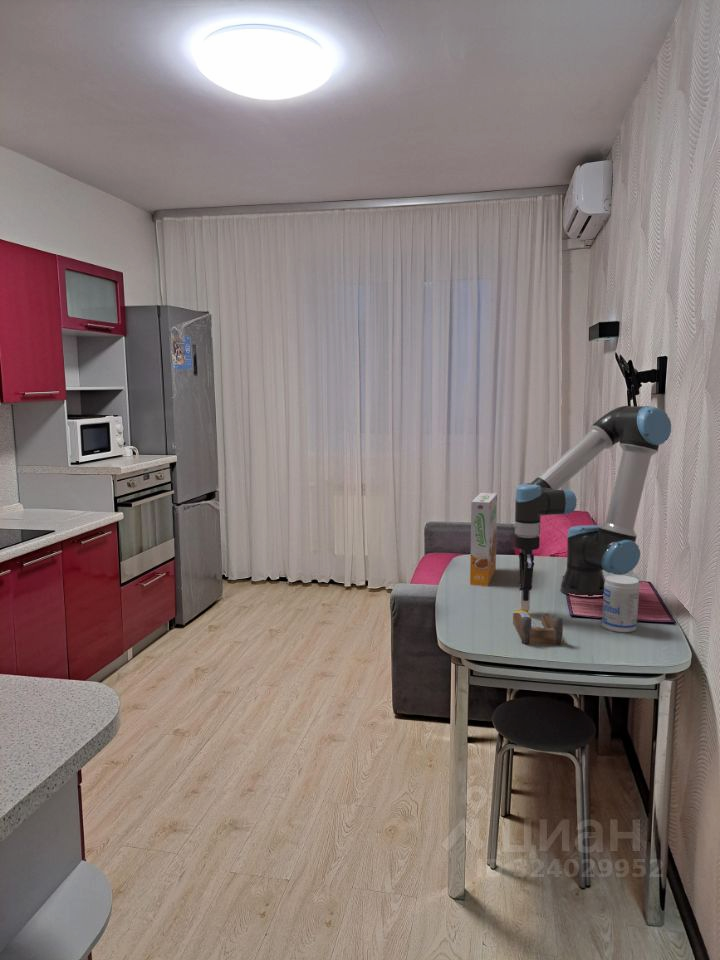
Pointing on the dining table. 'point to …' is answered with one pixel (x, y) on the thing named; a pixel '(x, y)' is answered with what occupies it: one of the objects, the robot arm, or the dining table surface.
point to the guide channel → (539, 630)
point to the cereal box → (483, 538)
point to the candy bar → (525, 614)
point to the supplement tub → (620, 603)
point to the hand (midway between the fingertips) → (524, 609)
